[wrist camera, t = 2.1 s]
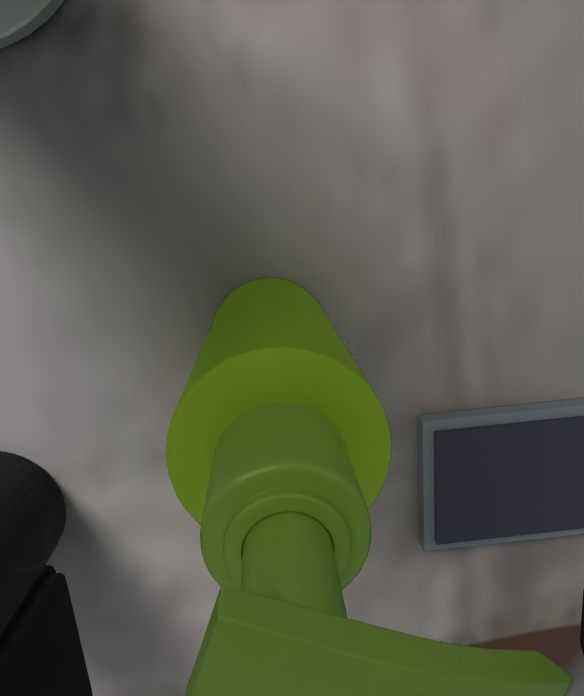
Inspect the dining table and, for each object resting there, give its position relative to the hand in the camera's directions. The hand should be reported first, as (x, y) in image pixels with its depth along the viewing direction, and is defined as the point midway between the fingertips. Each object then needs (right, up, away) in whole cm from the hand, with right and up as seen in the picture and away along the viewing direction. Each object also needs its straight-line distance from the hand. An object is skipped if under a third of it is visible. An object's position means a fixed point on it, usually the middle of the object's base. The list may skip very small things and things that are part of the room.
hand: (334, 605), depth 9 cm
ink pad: (+11, -2, +20) cm, 23 cm away
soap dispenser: (-1, +5, +17) cm, 18 cm away
